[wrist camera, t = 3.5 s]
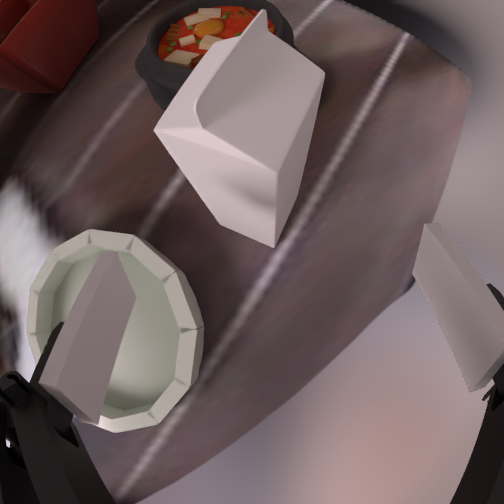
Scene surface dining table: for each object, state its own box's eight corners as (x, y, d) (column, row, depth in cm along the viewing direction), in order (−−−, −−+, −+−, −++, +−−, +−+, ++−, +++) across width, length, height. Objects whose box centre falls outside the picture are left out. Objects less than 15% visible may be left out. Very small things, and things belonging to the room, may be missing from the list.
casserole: (345, 69, 33) (358, 23, 25) (266, 173, 32) (263, 133, 23) (196, 12, 36) (186, -27, 28) (112, 91, 35) (85, 55, 27)
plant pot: (62, 113, 35) (-5, 49, 18) (3, 109, 37) (-52, 66, 20) (125, 24, 37) (88, -46, 21) (56, 31, 39) (18, -19, 23)
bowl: (33, 276, 32) (12, 273, 28) (165, 209, 32) (151, 198, 28) (84, 428, 29) (67, 439, 25) (234, 391, 28) (229, 404, 25)
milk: (297, 195, 31) (340, 25, 9) (274, 249, 30) (285, 136, 9) (243, 173, 32) (204, -5, 10) (218, 225, 31) (123, 89, 9)
